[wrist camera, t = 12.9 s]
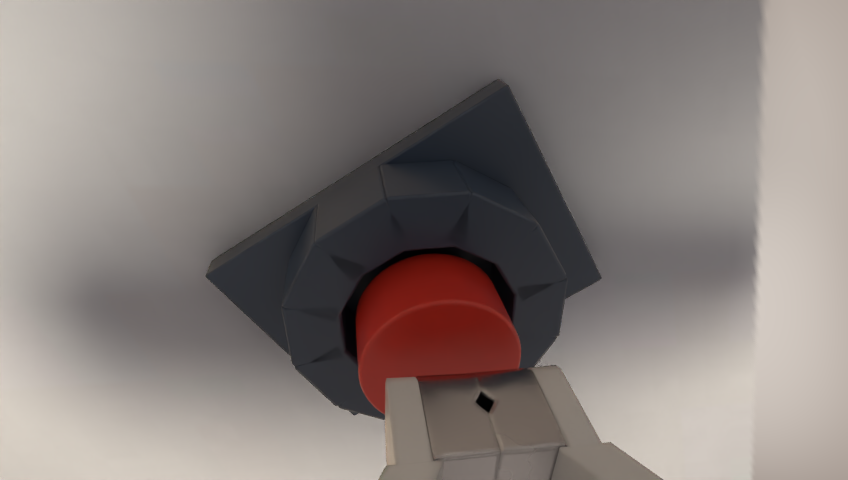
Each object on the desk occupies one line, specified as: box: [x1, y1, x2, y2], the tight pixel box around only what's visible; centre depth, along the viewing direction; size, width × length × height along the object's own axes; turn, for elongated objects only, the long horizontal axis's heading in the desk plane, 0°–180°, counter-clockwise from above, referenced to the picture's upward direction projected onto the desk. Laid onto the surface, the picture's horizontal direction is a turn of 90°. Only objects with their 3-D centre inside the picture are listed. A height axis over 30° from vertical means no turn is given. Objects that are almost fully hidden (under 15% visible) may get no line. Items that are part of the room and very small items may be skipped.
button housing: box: [206, 79, 601, 420], centre depth 12 cm, size 8×6×2 cm
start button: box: [356, 253, 521, 415], centre depth 10 cm, size 3×3×2 cm
